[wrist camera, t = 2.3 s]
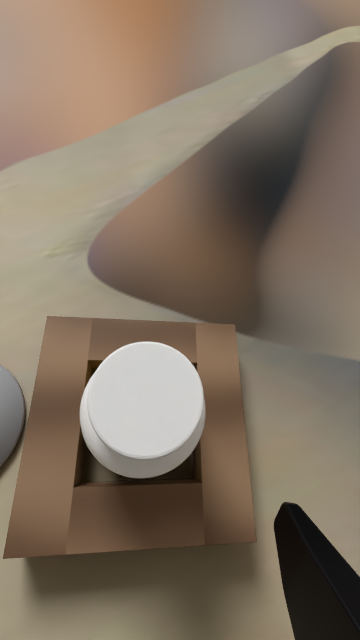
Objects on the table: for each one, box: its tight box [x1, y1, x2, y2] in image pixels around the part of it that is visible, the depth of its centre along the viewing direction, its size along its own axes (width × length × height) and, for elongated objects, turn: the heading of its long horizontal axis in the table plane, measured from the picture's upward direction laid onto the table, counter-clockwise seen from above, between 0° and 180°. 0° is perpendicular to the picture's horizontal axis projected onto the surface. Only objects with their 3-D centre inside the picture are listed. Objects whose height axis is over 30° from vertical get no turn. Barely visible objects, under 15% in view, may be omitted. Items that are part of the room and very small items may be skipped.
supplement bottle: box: [80, 342, 205, 478], centre depth 14 cm, size 5×5×10 cm
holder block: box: [3, 316, 257, 559], centre depth 18 cm, size 12×12×2 cm
